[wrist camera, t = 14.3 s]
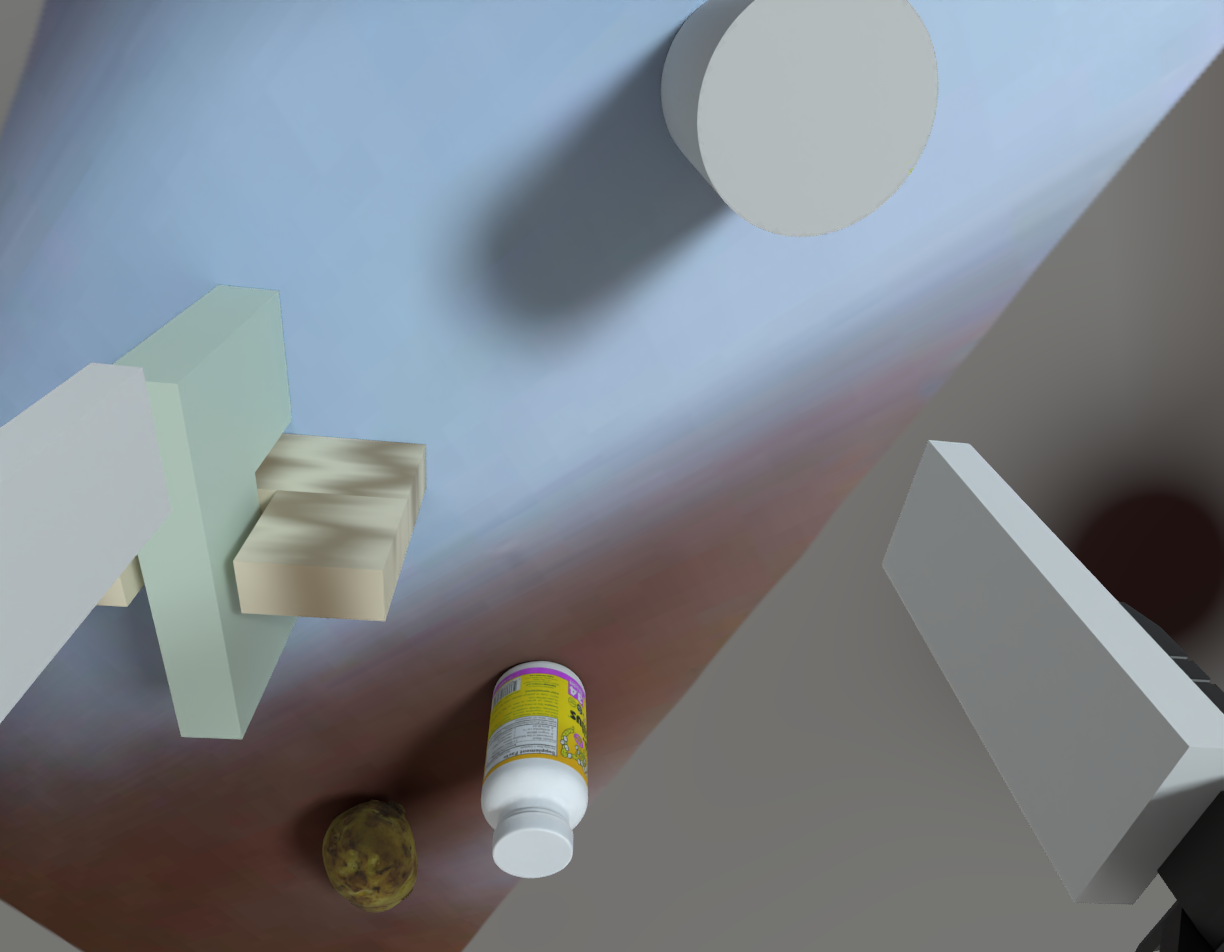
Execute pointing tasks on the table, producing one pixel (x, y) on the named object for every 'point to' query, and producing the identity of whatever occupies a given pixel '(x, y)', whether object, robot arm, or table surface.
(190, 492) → the sage slat
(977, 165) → the table surface
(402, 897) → the potato
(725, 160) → the grey cylinder
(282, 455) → the notched wooden block
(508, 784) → the supplement bottle
